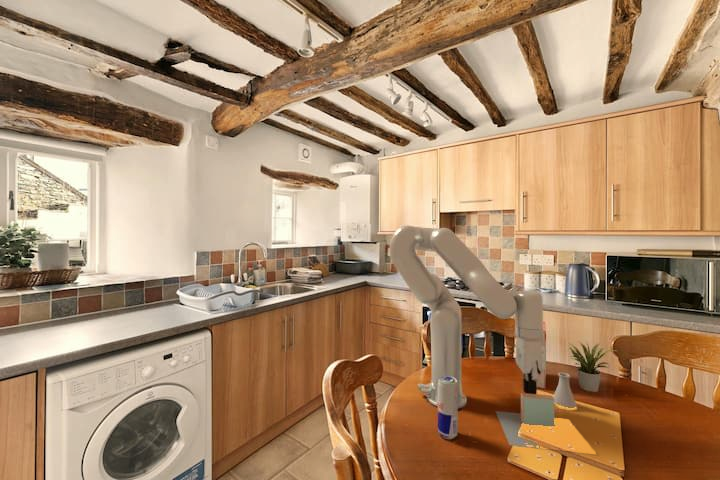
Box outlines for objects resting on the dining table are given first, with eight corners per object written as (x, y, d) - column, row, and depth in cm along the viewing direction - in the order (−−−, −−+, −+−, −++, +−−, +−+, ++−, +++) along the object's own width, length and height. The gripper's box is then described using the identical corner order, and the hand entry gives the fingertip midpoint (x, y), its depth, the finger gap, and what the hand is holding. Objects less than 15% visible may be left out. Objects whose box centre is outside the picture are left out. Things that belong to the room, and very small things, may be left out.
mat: (509, 446, 79) (509, 444, 79) (495, 412, 95) (495, 411, 95) (599, 457, 75) (599, 455, 75) (568, 419, 91) (568, 418, 91)
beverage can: (442, 426, 88) (442, 373, 88) (460, 433, 84) (460, 378, 84) (434, 435, 84) (434, 379, 84) (452, 443, 80) (452, 385, 80)
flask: (583, 413, 94) (582, 380, 94) (556, 411, 95) (556, 378, 95) (571, 401, 101) (571, 370, 101) (547, 399, 102) (547, 368, 102)
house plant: (613, 384, 113) (613, 339, 113) (624, 402, 100) (623, 351, 100) (566, 376, 119) (566, 333, 119) (571, 392, 107) (570, 344, 107)
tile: (523, 425, 87) (523, 396, 87) (520, 420, 90) (520, 392, 90) (554, 428, 86) (554, 399, 86) (551, 423, 88) (551, 395, 88)
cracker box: (546, 390, 109) (546, 330, 109) (527, 386, 112) (526, 327, 112) (546, 375, 121) (545, 321, 121) (528, 371, 124) (528, 319, 124)
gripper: (508, 325, 103) (509, 381, 103) (523, 339, 88) (524, 404, 88) (533, 326, 101) (534, 382, 101) (552, 340, 87) (553, 407, 87)
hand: (530, 392), depth 95 cm, fingers closed
